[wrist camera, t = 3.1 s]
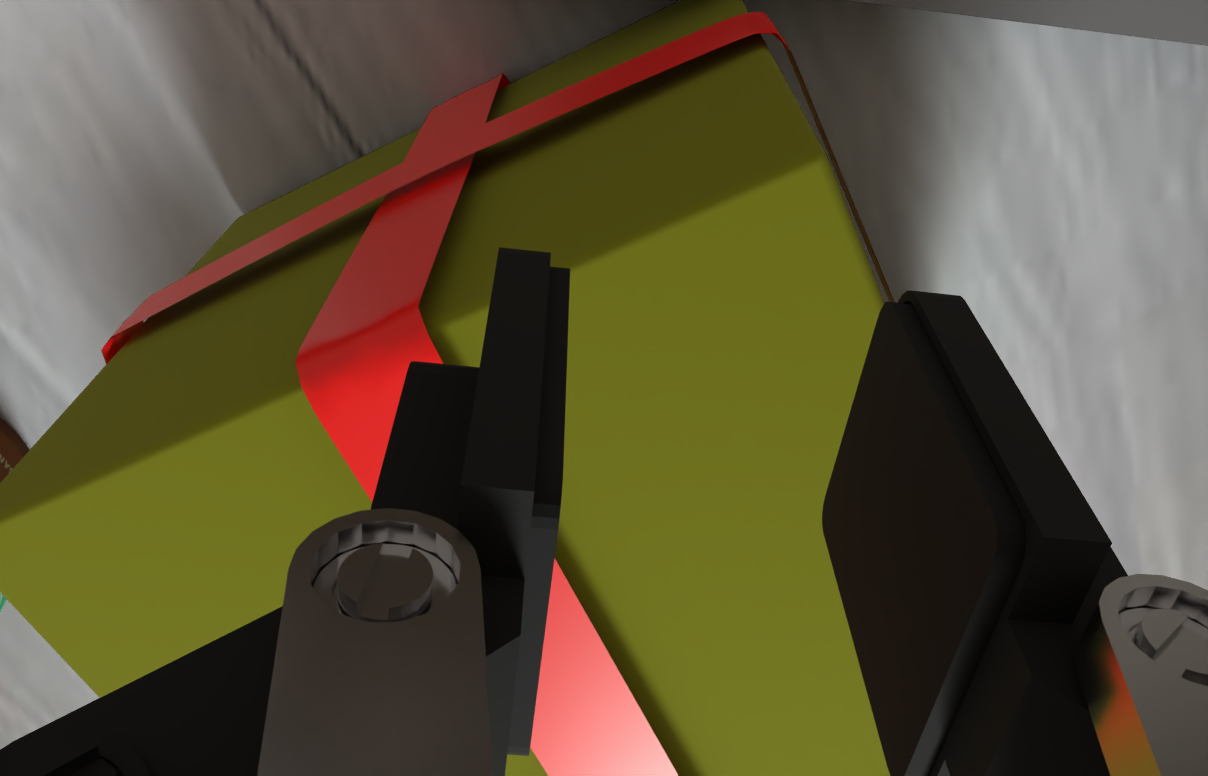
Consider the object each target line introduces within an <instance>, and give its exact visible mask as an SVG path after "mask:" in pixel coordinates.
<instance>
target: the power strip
mask: <svg viewBox="0 0 1208 776" xmlns="http://www.w3.org/2000/svg"><path fill="white" fill-rule="evenodd" d="M849 1H857V2H865V3H873V4H880V5H888V6H896V7H904V8H912V9H920V10H928V11H936V12H944V13H952V14H960V15H968V16H976V17H984V18H992V19H1000V20H1008V21H1016V22H1024V23H1032V24H1040V25H1048V26H1056V27H1064V28H1072V29H1080V30H1088V31H1096V32H1103V33H1111V34H1119V35H1127V36H1135V37H1143V38H1151V39H1159V40H1167V41H1175V42H1183V43H1191V44H1199V45H1207V46H1208V0H849Z"/></svg>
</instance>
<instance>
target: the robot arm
mask: <svg viewBox="0 0 1208 776" xmlns="http://www.w3.org/2000/svg"><path fill="white" fill-rule="evenodd" d="M550 260H551V253H549V252H540V251H530V250H521V249H511V248H502V247H499V250H498V256H497V262H496V268H495V275H494V281H493V287H492V293H491V299H490V305H489V312H488V318H487V324H486V330H485V336H484V342H483V349H482V355H481V361H480V367H470V366H460V365H449V364H439V363H429V362H419V361H412V362H410V364H409V367H408V370H407V374H406V378H405V381H404V385H403V389H402V393H401V396H400V400H399V404H398V408H397V411H396V415H395V419H394V423H393V426H392V430H391V434H390V438H389V441H388V445H387V449H386V453H385V456H384V460H383V464H382V468H381V471H380V475H379V479H378V483H377V486H376V490H375V494H374V498H373V501H372V505H371V509H370V510H361V511H358V512H354V513H351V514H348V515H344V516H341V517H338V518H335V519H333V520H331V521H329V522H328V523H326V524H324V525H323V526H321V527H319V528H317V529H316V530H314V531H312V532H311V533H310V534H309V535H308V537H307V538H306V539H305V540H304V541H303V542H302V543H301V544H300V545H299V546H298V547H297V548H296V550H295V553H294V555H293V558H292V561H291V563H290V566H289V568H288V574H287V581H286V588H285V594H284V601H283V606H282V607H280V608H278V609H276V610H274V611H272V612H270V613H268V614H266V615H264V616H262V617H260V618H258V619H256V620H254V621H252V622H250V623H248V624H246V625H244V626H242V627H240V628H238V629H236V630H234V631H232V632H230V633H228V634H226V635H224V636H222V637H220V638H218V639H216V640H214V641H212V642H210V643H208V644H206V645H204V646H202V647H200V648H198V649H196V650H194V651H192V652H190V653H188V654H186V655H184V656H182V657H180V658H178V659H176V660H174V661H172V662H170V663H168V664H166V665H164V666H162V667H160V668H158V669H156V670H154V671H152V672H150V673H148V674H146V675H144V676H143V677H141V678H139V679H137V680H135V681H133V682H131V683H129V684H127V685H125V686H123V687H121V688H119V689H117V690H115V691H113V692H111V693H109V694H107V695H105V696H103V697H101V698H99V699H97V700H95V701H93V702H91V703H89V704H87V705H85V706H83V707H81V708H79V709H77V710H75V711H73V712H71V713H69V714H67V715H65V716H63V717H61V718H59V719H57V720H55V721H53V722H51V723H49V724H47V725H45V726H43V727H41V728H39V729H37V730H35V731H33V732H31V733H29V734H27V735H25V736H23V737H21V738H19V739H17V740H15V741H13V742H12V743H10V744H9V745H7V746H6V747H4V748H2V749H1V750H0V776H505V770H506V761H507V754H508V755H522V756H529V752H530V745H531V737H532V729H533V721H534V714H535V706H536V698H537V690H538V682H539V675H540V667H541V659H542V651H543V644H544V636H545V628H546V620H547V613H548V605H549V597H550V589H551V582H552V574H553V566H554V558H555V551H556V543H557V535H558V527H559V519H560V509H561V498H562V485H563V465H564V436H565V407H566V378H567V349H568V320H569V291H570V269H569V268H560V267H550ZM822 528H823V534H824V538H825V541H826V545H827V548H828V552H829V556H830V559H831V563H832V567H833V570H834V574H835V578H836V581H837V585H838V589H839V592H840V596H841V600H842V603H843V607H844V611H845V614H846V618H847V621H848V625H849V629H850V632H851V636H852V640H853V643H854V647H855V651H856V654H857V658H858V662H859V665H860V669H861V673H862V676H863V680H864V684H865V687H866V691H867V694H868V698H869V702H870V705H871V709H872V713H873V716H874V720H875V724H876V727H877V731H878V735H879V738H880V742H881V746H882V749H883V753H884V757H885V760H886V764H887V767H888V770H889V773H890V776H1208V590H1206V589H1203V588H1201V587H1199V586H1197V585H1194V584H1192V583H1189V582H1186V581H1182V580H1178V579H1174V578H1170V577H1167V576H1163V575H1147V574H1135V575H1130V576H1128V575H1127V573H1126V572H1125V570H1124V568H1123V567H1122V565H1121V563H1120V562H1119V560H1118V558H1117V557H1116V555H1115V553H1114V552H1113V550H1112V548H1111V547H1110V546H1111V544H1112V542H1111V541H1110V539H1109V537H1108V536H1107V534H1106V532H1105V531H1104V529H1103V527H1102V526H1101V524H1100V522H1099V521H1098V519H1097V517H1096V516H1095V514H1094V512H1093V511H1092V509H1091V508H1090V506H1089V504H1088V503H1087V501H1086V499H1085V498H1084V496H1083V494H1082V493H1081V491H1080V489H1079V488H1078V486H1077V484H1076V483H1075V481H1074V480H1073V478H1072V476H1071V475H1070V473H1069V471H1068V470H1067V468H1066V466H1065V465H1064V463H1063V461H1062V460H1061V458H1060V456H1059V455H1058V453H1057V451H1056V450H1055V448H1054V447H1053V445H1052V443H1051V442H1050V440H1049V438H1048V437H1047V435H1046V433H1045V432H1044V430H1043V428H1042V427H1041V425H1040V423H1039V422H1038V420H1037V419H1036V417H1035V415H1034V414H1033V412H1032V410H1031V409H1030V407H1029V405H1028V404H1027V402H1026V400H1025V399H1024V397H1023V395H1022V394H1021V392H1020V390H1019V389H1018V387H1017V386H1016V384H1015V382H1014V381H1013V379H1012V377H1011V376H1010V374H1009V372H1008V371H1007V369H1006V367H1005V366H1004V364H1003V362H1002V361H1001V359H1000V358H999V356H998V354H997V353H996V351H995V349H994V348H993V346H992V344H991V343H990V341H989V339H988V338H987V336H986V334H985V333H984V331H983V329H982V328H981V326H980V325H979V323H978V321H977V320H976V318H975V316H974V315H973V313H972V311H971V310H970V308H969V306H968V305H967V303H966V301H965V300H964V299H963V298H962V297H961V296H956V295H947V294H937V293H928V292H918V291H906V292H905V293H904V294H903V295H902V296H901V298H900V300H899V301H898V303H894V302H886V303H885V304H884V305H883V307H882V308H881V310H880V313H879V316H878V319H877V322H876V325H875V329H874V332H873V336H872V339H871V342H870V346H869V349H868V353H867V356H866V359H865V363H864V366H863V369H862V373H861V376H860V380H859V383H858V386H857V390H856V393H855V397H854V400H853V403H852V407H851V410H850V414H849V417H848V420H847V424H846V427H845V430H844V434H843V437H842V441H841V444H840V447H839V451H838V454H837V458H836V461H835V464H834V468H833V471H832V475H831V478H830V481H829V485H828V488H827V492H826V495H825V499H824V503H823V510H822Z"/></svg>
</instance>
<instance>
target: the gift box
mask: <svg viewBox="0 0 1208 776" xmlns="http://www.w3.org/2000/svg"><path fill="white" fill-rule="evenodd" d="M760 33H771V34H772V35H774V36H775V37H776V38H777V39H779V40H780V41H781V42H782V43H783V45H784V47H785V49H786V52H787V54H788V56H789V59H790V61H791V64H792V66H793V69H794V71H795V74H796V76H797V78H798V81H799V83H800V86H801V88H802V91H803V93H804V95H805V98H806V100H807V103H808V105H809V108H810V110H811V112H812V115H813V117H814V120H815V122H816V125H817V127H818V129H819V132H820V134H821V137H822V139H823V141H824V144H825V146H826V149H827V151H828V154H829V156H830V158H831V161H832V163H833V166H834V168H835V171H836V173H837V175H838V178H839V180H840V183H841V185H842V187H843V190H844V192H845V195H846V197H847V200H848V202H849V204H850V207H851V209H852V212H853V214H854V216H855V219H856V221H857V224H858V226H859V229H860V231H861V233H862V236H863V238H864V241H865V243H866V245H867V248H868V250H869V253H870V255H871V258H872V260H873V262H874V265H875V267H876V270H877V272H878V274H879V277H880V279H881V282H882V284H883V286H884V289H885V291H886V294H887V296H888V299H889V301H890V302H894V300H893V298H892V295H891V293H890V290H889V288H888V285H887V283H886V281H885V278H884V276H883V273H882V271H881V268H880V266H879V264H878V261H877V259H876V256H875V254H874V251H873V249H872V247H871V244H870V242H869V239H868V237H867V234H866V232H865V230H864V227H863V225H862V222H861V220H860V218H859V215H858V213H857V210H856V208H855V205H854V203H853V201H852V198H851V196H850V193H849V191H848V188H847V186H846V184H845V181H844V179H843V176H842V174H841V171H840V169H839V167H838V164H837V162H836V159H835V157H834V154H833V152H832V150H831V147H830V145H829V142H828V140H827V137H826V135H825V133H824V130H823V128H822V125H821V123H820V120H819V118H818V116H817V113H816V111H815V108H814V106H813V103H812V101H811V99H810V96H809V94H808V91H807V89H806V86H805V84H804V81H803V79H802V77H801V74H800V72H799V69H798V67H797V65H796V62H795V60H794V58H793V56H792V53H791V52H790V50H789V49H788V46H787V44H786V43H785V41H784V39H783V38H782V37H781V36H780V35H779V33H778V31H777V29H776V28H775V26H774V25H773V23H772V21H771V20H770V19H769V18H768V16H767V15H766V14H765V13H763V12H751V13H749V12H748V10H747V8H746V6H745V5H744V3H743V1H742V0H680V1H678V2H676V3H674V4H672V5H670V6H668V7H666V8H664V9H662V10H660V11H657V12H655V13H653V14H651V15H649V16H647V17H645V18H643V19H641V20H639V21H637V22H635V23H633V24H631V25H629V26H627V27H625V28H623V29H621V30H619V31H617V32H615V33H613V34H611V35H609V36H607V37H605V38H603V39H601V40H599V41H597V42H595V43H592V44H590V45H588V46H586V47H584V48H582V49H580V50H578V51H576V52H574V53H572V54H570V55H568V56H566V57H564V58H562V59H560V60H558V61H556V62H554V63H552V64H550V65H548V66H546V67H544V68H542V69H540V70H538V71H536V72H534V73H532V74H530V75H527V76H525V77H523V78H521V79H519V80H517V81H515V82H513V83H510V82H509V80H508V79H507V77H506V76H505V75H504V74H503V73H502V74H500V75H499V76H497V77H496V78H494V79H492V80H490V81H488V82H486V83H484V84H482V85H480V86H478V87H475V88H473V89H470V90H468V91H465V92H464V93H462V94H461V95H459V96H457V97H454V98H451V99H450V100H448V101H446V102H445V103H443V104H442V105H440V106H437V107H434V108H432V110H431V111H430V113H429V115H428V117H427V118H426V120H425V122H424V124H423V126H422V128H420V129H418V130H416V131H414V132H412V133H410V134H408V135H406V136H404V137H402V138H399V139H397V140H395V141H393V142H391V143H389V144H387V145H385V146H383V147H381V148H379V149H377V150H375V151H373V152H371V153H369V154H367V155H365V156H363V157H361V158H359V159H357V160H355V161H353V162H351V163H349V164H347V165H345V166H343V167H341V168H339V169H337V170H334V171H332V172H330V173H328V174H326V175H324V176H322V177H320V178H318V179H316V180H314V181H312V182H310V183H308V184H306V185H304V186H302V187H300V188H298V189H296V190H294V191H292V192H290V193H288V194H286V195H284V196H282V197H280V198H278V199H276V200H274V201H272V202H269V203H267V204H265V205H263V206H261V207H259V208H257V209H255V210H253V211H251V212H249V213H247V214H245V215H243V216H241V217H239V218H238V219H237V220H236V221H235V222H234V223H233V224H232V225H231V226H230V228H229V229H228V230H227V231H226V232H225V233H224V234H223V235H222V236H221V238H220V239H219V240H218V241H217V242H216V243H215V244H214V245H213V247H212V248H211V249H210V250H209V251H208V252H207V253H206V254H205V255H204V257H203V258H202V259H201V260H200V261H199V262H198V263H197V264H196V265H195V267H194V268H193V269H192V270H191V271H190V272H189V273H188V274H187V275H186V277H184V278H182V279H180V280H178V281H177V282H175V283H173V284H171V285H169V286H167V287H165V288H164V289H162V290H160V291H158V292H157V293H155V294H153V295H151V296H150V297H149V298H148V299H146V300H145V301H144V302H143V303H142V304H141V305H140V306H139V307H138V308H137V309H136V310H135V312H134V313H133V314H132V315H131V316H130V317H129V318H127V319H126V320H125V321H124V322H123V324H122V326H121V327H120V328H119V329H118V330H117V331H116V332H115V333H114V335H113V336H112V337H111V338H110V339H109V341H108V342H107V343H106V345H105V346H104V347H103V349H102V353H103V356H104V359H105V361H106V364H107V365H106V366H105V367H104V368H103V369H102V370H101V371H100V372H99V374H98V375H97V376H96V377H95V378H94V379H93V380H92V381H91V382H90V384H89V385H88V386H87V387H86V388H85V389H84V390H83V391H82V393H81V394H80V395H79V396H78V397H77V398H76V399H75V400H74V401H73V403H72V404H71V405H70V406H69V407H68V408H67V409H66V410H65V411H64V413H63V414H62V415H61V416H60V417H59V418H58V419H57V420H56V421H55V423H54V424H53V425H52V426H51V427H50V428H49V429H48V430H47V432H46V433H45V434H44V435H43V436H42V437H41V438H40V439H39V440H38V442H37V443H36V444H35V445H34V446H33V447H32V448H31V449H30V450H29V452H28V453H27V454H26V455H25V456H24V457H23V458H22V459H21V461H20V462H19V463H18V464H17V465H16V466H15V467H14V468H13V469H12V471H11V472H10V473H9V474H8V475H7V476H6V477H5V478H4V479H3V481H2V482H1V483H0V592H1V593H2V595H3V596H4V597H5V598H6V599H7V600H8V601H9V602H10V603H11V604H12V605H13V606H14V607H15V608H16V609H17V610H18V611H19V613H20V614H21V615H22V616H23V617H24V618H25V619H26V620H27V621H28V622H29V623H30V624H31V625H32V626H33V627H34V628H35V630H36V631H37V632H38V633H39V634H40V635H41V636H42V637H43V638H44V639H45V640H46V641H47V642H48V643H49V644H50V645H51V647H52V648H53V649H54V650H55V651H56V652H57V653H58V654H59V655H60V656H61V657H62V658H63V659H64V660H65V661H66V662H67V664H68V665H69V666H70V667H71V668H72V669H73V670H74V671H75V672H76V673H77V674H78V675H79V676H80V677H81V678H82V679H83V680H84V682H85V683H86V684H87V685H88V686H89V687H90V688H91V689H92V690H93V691H94V692H95V693H96V694H97V695H98V696H99V697H100V698H101V697H103V696H105V695H107V694H109V693H111V692H113V691H115V690H117V689H119V688H121V687H123V686H125V685H127V684H129V683H131V682H133V681H135V680H137V679H139V678H141V677H143V676H144V675H146V674H148V673H150V672H152V671H154V670H156V669H158V668H160V667H162V666H164V665H166V664H168V663H170V662H172V661H174V660H176V659H178V658H180V657H182V656H184V655H186V654H188V653H190V652H192V651H194V650H196V649H198V648H200V647H202V646H204V645H206V644H208V643H210V642H212V641H214V640H216V639H218V638H220V637H222V636H224V635H226V634H228V633H230V632H232V631H234V630H236V629H238V628H240V627H242V626H244V625H246V624H248V623H250V622H252V621H254V620H256V619H258V618H260V617H262V616H264V615H266V614H268V613H270V612H272V611H274V610H276V609H278V608H280V607H282V606H283V601H284V594H285V588H286V581H287V574H288V568H289V566H290V563H291V561H292V558H293V555H294V553H295V550H296V548H297V547H298V546H299V545H300V544H301V543H302V542H303V541H304V540H305V539H306V538H307V537H308V535H309V534H310V533H311V532H312V531H314V530H316V529H317V528H319V527H321V526H323V525H324V524H326V523H328V522H329V521H331V520H333V519H335V518H338V517H341V516H344V515H348V514H351V513H354V512H358V511H361V510H370V509H371V505H372V501H373V498H374V494H375V490H376V486H377V483H378V479H379V475H380V471H381V468H382V464H383V460H384V456H385V453H386V449H387V445H388V441H389V438H390V434H391V430H392V426H393V423H394V419H395V415H396V411H397V408H398V404H399V400H400V396H401V393H402V389H403V385H404V381H405V378H406V374H407V370H408V367H409V364H410V362H412V361H419V362H429V363H439V364H449V365H460V366H470V367H480V361H481V355H482V349H483V342H484V336H485V330H486V324H487V318H488V312H489V305H490V299H491V293H492V287H493V281H494V275H495V268H496V262H497V256H498V250H499V247H502V248H511V249H521V250H530V251H540V252H549V253H551V260H550V267H560V268H569V269H570V291H569V320H568V349H567V378H566V407H565V436H564V465H563V485H562V498H561V509H560V519H559V527H558V535H557V543H556V551H555V558H554V566H553V574H552V582H551V589H550V597H549V605H548V613H547V620H546V628H545V636H544V644H543V651H542V659H541V667H540V675H539V682H538V690H537V698H536V706H535V714H534V721H533V729H532V737H531V745H530V752H529V756H522V755H508V754H507V761H506V770H505V776H890V773H889V770H888V767H887V764H886V760H885V757H884V753H883V749H882V746H881V742H880V738H879V735H878V731H877V727H876V724H875V720H874V716H873V713H872V709H871V705H870V702H869V698H868V694H867V691H866V687H865V684H864V680H863V676H862V673H861V669H860V665H859V662H858V658H857V654H856V651H855V647H854V643H853V640H852V636H851V632H850V629H849V625H848V621H847V618H846V614H845V611H844V607H843V603H842V600H841V596H840V592H839V589H838V585H837V581H836V578H835V574H834V570H833V567H832V563H831V559H830V556H829V552H828V548H827V545H826V541H825V538H824V534H823V528H822V510H823V503H824V499H825V495H826V492H827V488H828V485H829V481H830V478H831V475H832V471H833V468H834V464H835V461H836V458H837V454H838V451H839V447H840V444H841V441H842V437H843V434H844V430H845V427H846V424H847V420H848V417H849V414H850V410H851V407H852V403H853V400H854V397H855V393H856V390H857V386H858V383H859V380H860V376H861V373H862V369H863V366H864V363H865V359H866V356H867V353H868V349H869V346H870V342H871V339H872V336H873V332H874V329H875V325H876V322H877V319H878V316H879V313H880V310H881V308H882V307H883V305H884V304H885V303H884V300H883V298H882V295H881V293H880V290H879V288H878V285H877V282H876V280H875V277H874V275H873V272H872V270H871V267H870V264H869V262H868V259H867V257H866V254H865V252H864V249H863V247H862V244H861V241H860V239H859V236H858V234H857V231H856V229H855V226H854V224H853V221H852V218H851V216H850V213H849V211H848V208H847V206H846V203H845V201H844V198H843V195H842V193H841V190H840V188H839V185H838V183H837V180H836V178H835V175H834V172H833V170H832V167H831V165H830V162H829V160H828V157H827V155H826V153H825V152H824V150H823V148H822V146H821V144H820V142H819V140H818V139H817V137H816V135H815V133H814V131H813V129H812V128H811V126H810V124H809V122H808V120H807V118H806V117H805V115H804V113H803V111H802V109H801V107H800V106H799V104H798V102H797V100H796V98H795V96H794V95H793V93H792V91H791V89H790V87H789V85H788V84H787V82H786V80H785V78H784V76H783V74H782V73H781V71H780V69H779V67H778V65H777V63H776V62H775V60H774V58H773V56H772V54H771V52H770V51H769V49H768V47H767V45H766V43H765V41H764V40H763V38H762V36H761V34H760ZM894 303H895V302H894ZM148 317H149V318H148ZM146 318H148V319H147V320H146V321H145V322H144V323H143V320H144V319H146Z"/></svg>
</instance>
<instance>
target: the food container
mask: <svg viewBox="0 0 1208 776" xmlns="http://www.w3.org/2000/svg"><path fill="white" fill-rule="evenodd" d="M28 452H29V449H28V448H27V446H26V445H25V444H24V442H23V441H22V439H21V438H20V437H19V435H18V434H17V433H16V432H15V431H14V430H13V429H12V428H11V427H10V426H9V425H8V424H7V423H6V422H5V421H3V420H2V419H1V418H0V483H1V482H2V481H3V479H4V478H5V477H6V476H7V475H8V474H9V473H10V472H11V471H12V469H13V468H14V467H15V466H16V465H17V464H18V463H19V462H20V461H21V459H22V458H23V457H24V456H25V455H26V454H27V453H28ZM5 601H6V598H5V597H4V596H3V595H2V593H1V592H0V611H1V609H2V607H3V605H4V603H5Z"/></svg>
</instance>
